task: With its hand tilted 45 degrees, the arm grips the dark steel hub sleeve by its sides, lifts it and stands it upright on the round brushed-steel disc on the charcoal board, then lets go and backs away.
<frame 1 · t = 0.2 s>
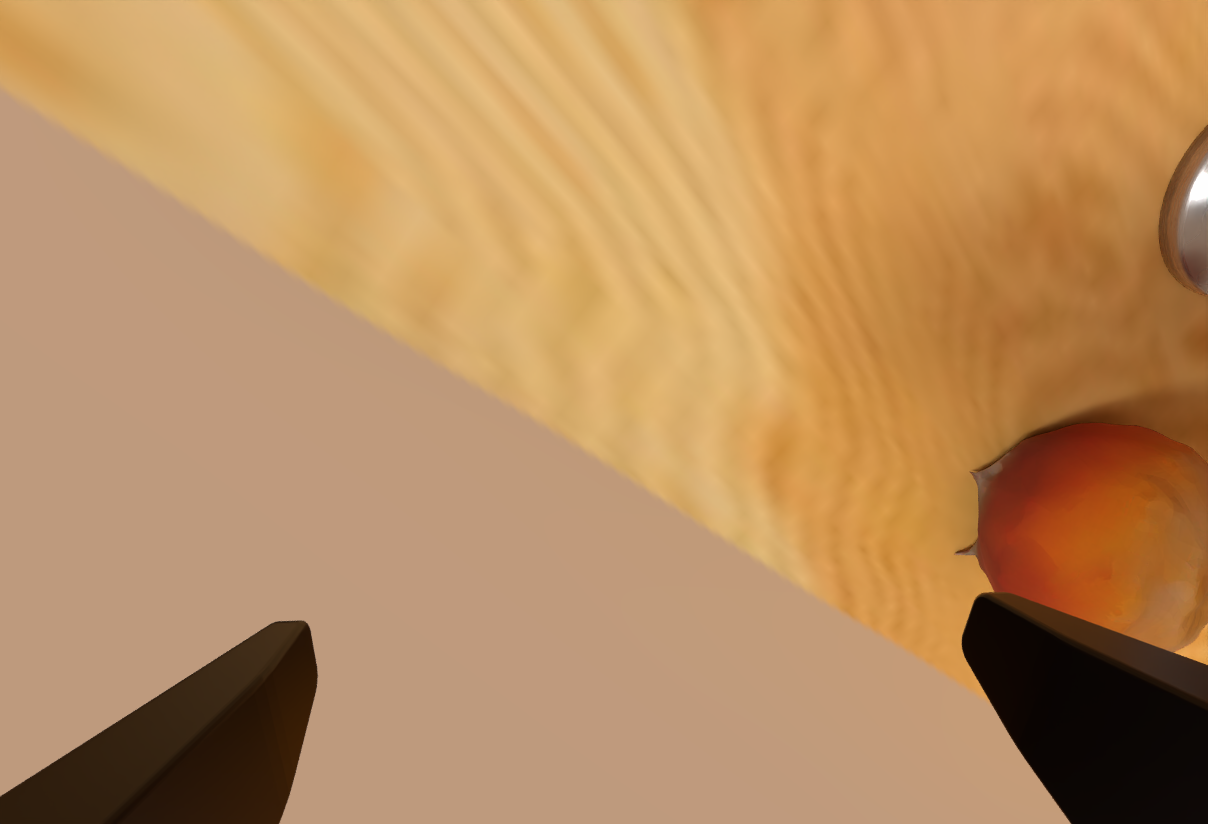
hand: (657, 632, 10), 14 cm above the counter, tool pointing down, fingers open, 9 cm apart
fruit: (1036, 490, 28), on the counter
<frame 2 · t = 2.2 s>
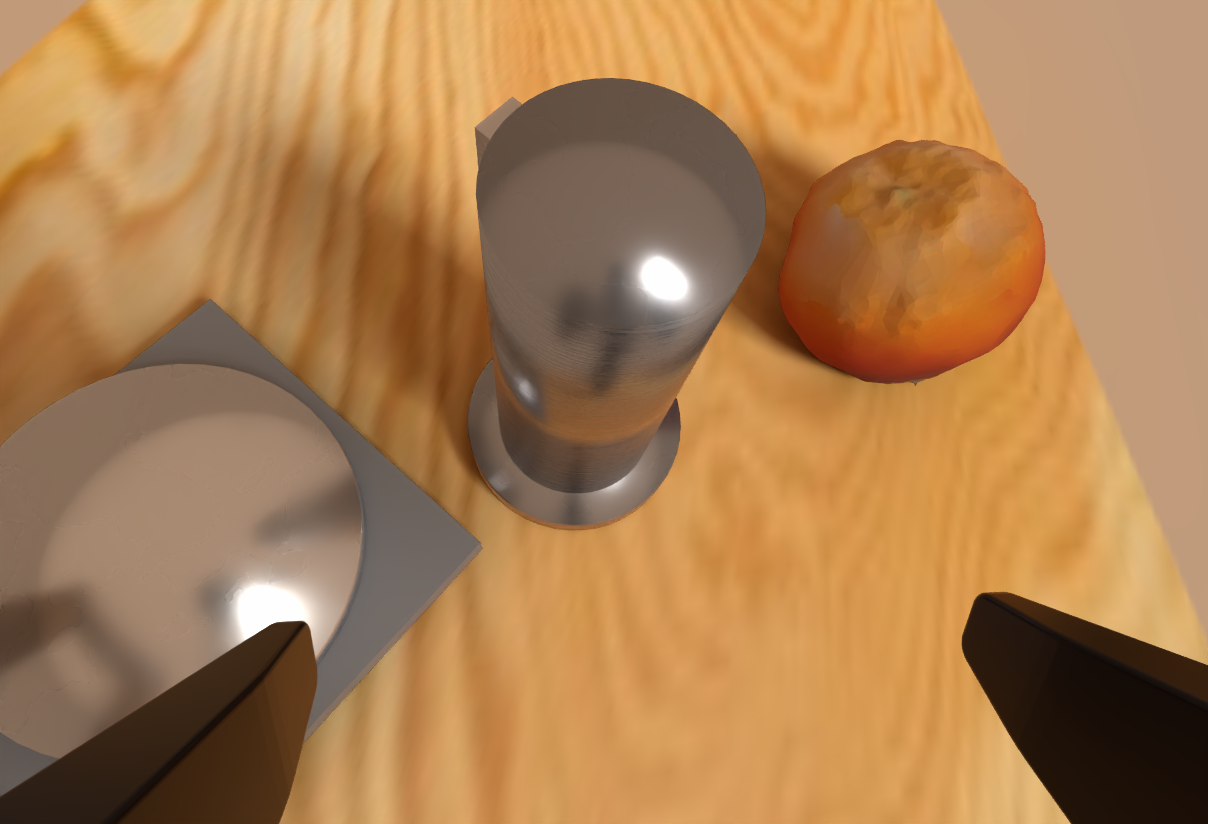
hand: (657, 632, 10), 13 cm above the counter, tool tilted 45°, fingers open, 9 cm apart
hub: (573, 428, 24), on the counter
board: (143, 619, 21), on the counter
flange disc: (169, 550, 21), resting on board
fruit: (859, 312, 27), on the counter
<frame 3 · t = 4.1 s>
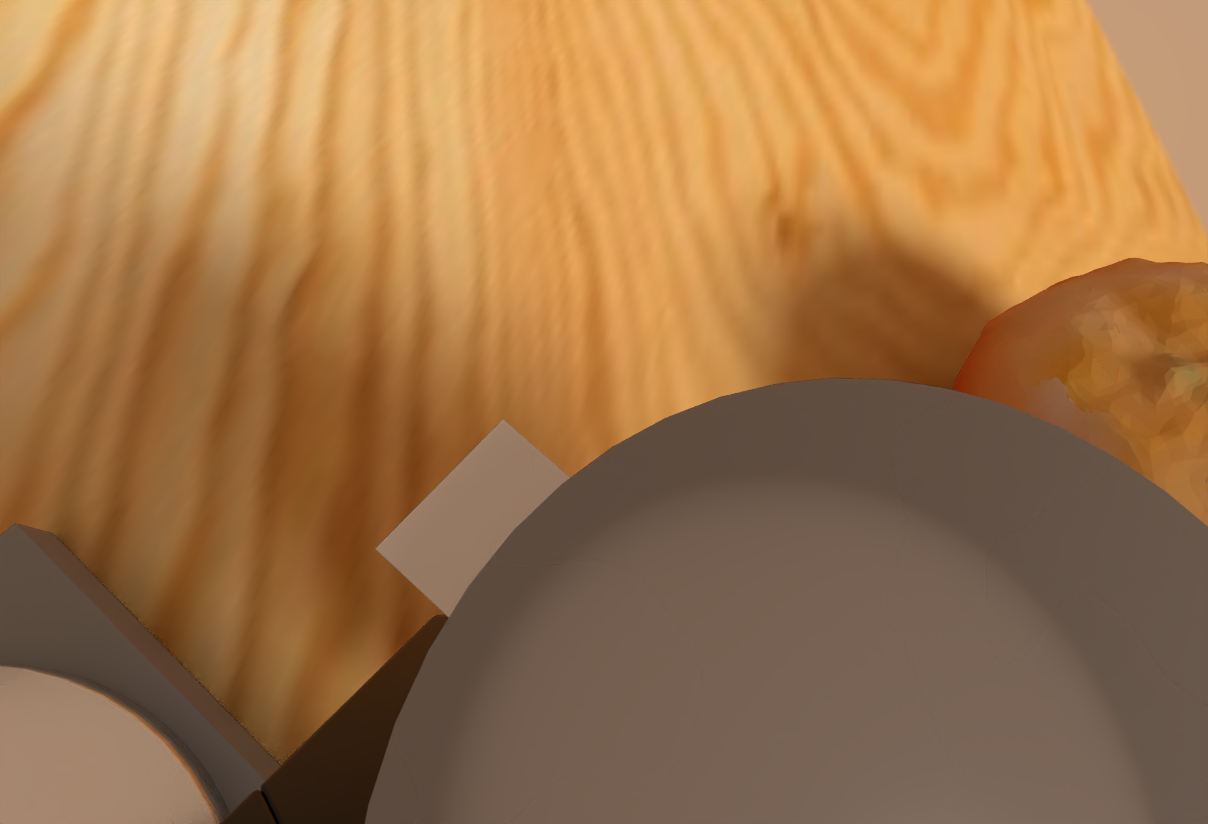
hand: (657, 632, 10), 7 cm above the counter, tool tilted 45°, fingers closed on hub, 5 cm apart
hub: (608, 712, 15), on the counter, touching gripper
fruit: (1031, 493, 18), on the counter
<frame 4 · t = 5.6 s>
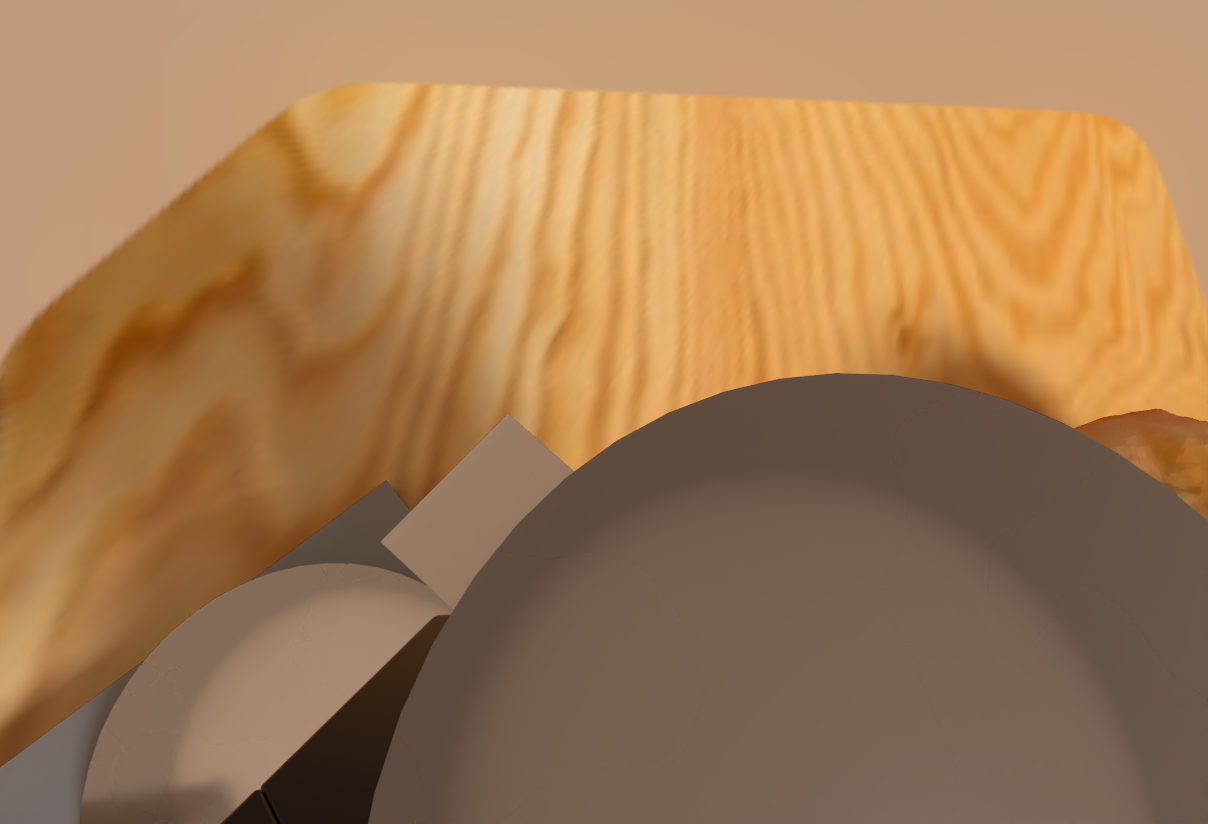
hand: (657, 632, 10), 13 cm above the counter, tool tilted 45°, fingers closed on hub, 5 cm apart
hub: (610, 710, 15), point 7 cm above the counter, touching gripper
flange disc: (321, 775, 19), resting on board
fruit: (1063, 561, 25), on the counter
when the fingers open (10 cm above the counter, at t = 7.2 s): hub stays where it is, resting on flange disc.
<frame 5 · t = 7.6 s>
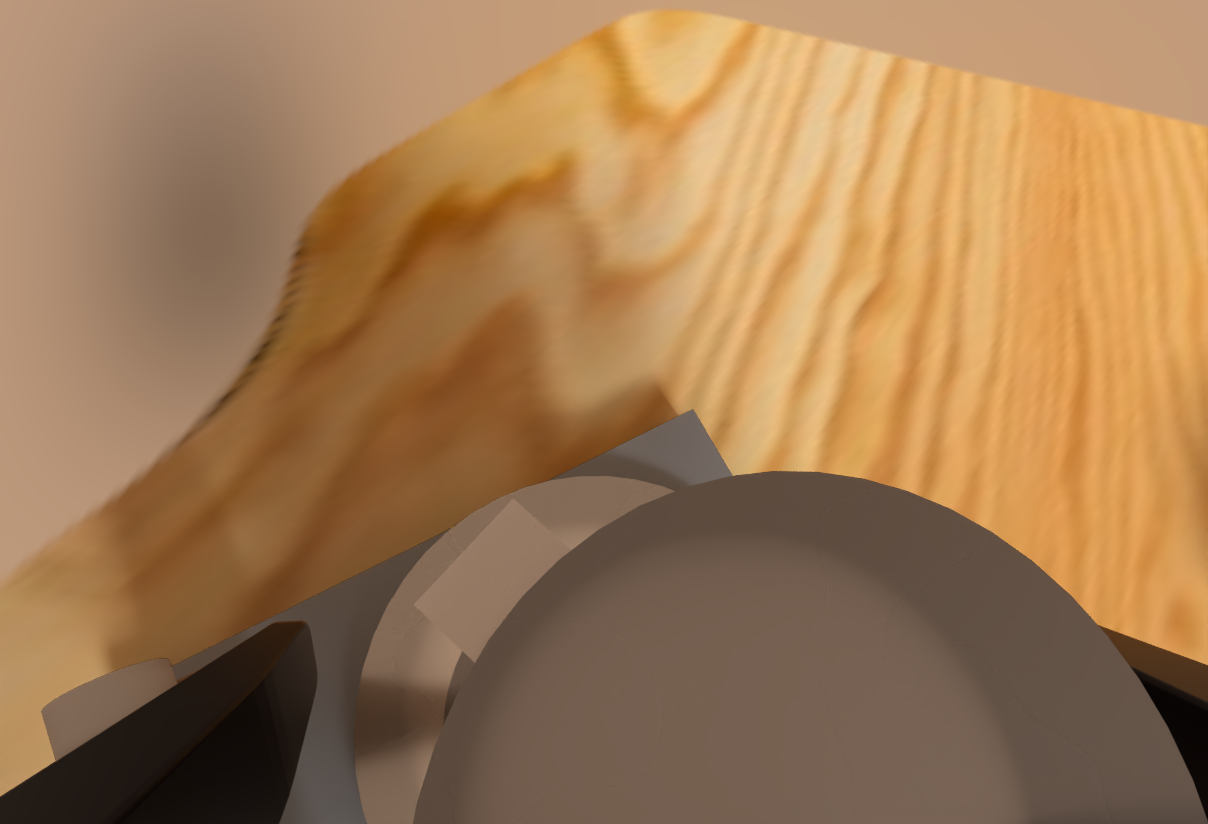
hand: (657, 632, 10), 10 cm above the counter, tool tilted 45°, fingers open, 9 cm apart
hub: (602, 716, 16), point 2 cm above the counter, touching flange disc
board: (531, 763, 18), on the counter
flange disc: (597, 705, 17), resting on board
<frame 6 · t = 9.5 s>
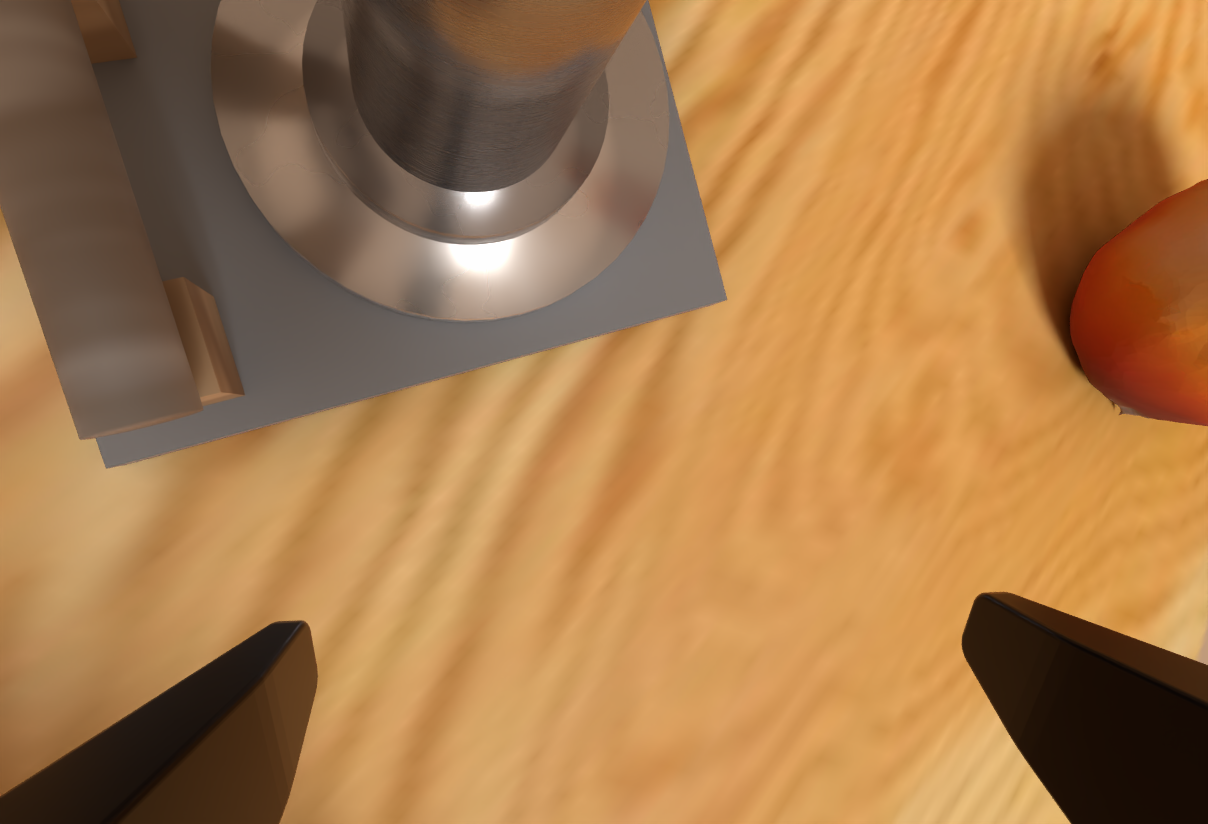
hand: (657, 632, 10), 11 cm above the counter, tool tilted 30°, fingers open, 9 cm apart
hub: (460, 102, 18), point 2 cm above the counter, touching flange disc
board: (385, 158, 19), on the counter
flange disc: (457, 108, 18), resting on board
fruit: (1116, 321, 27), on the counter
bar handle: (118, 188, 16), resting on board
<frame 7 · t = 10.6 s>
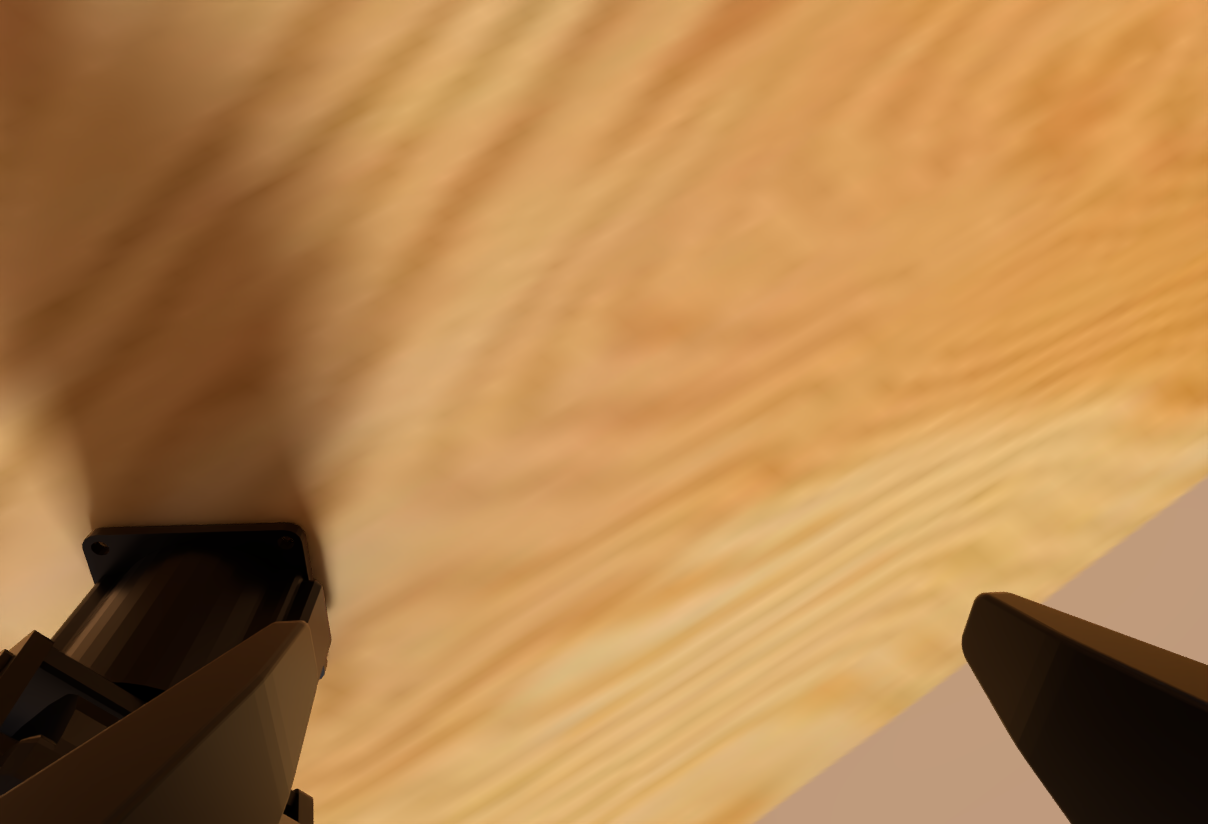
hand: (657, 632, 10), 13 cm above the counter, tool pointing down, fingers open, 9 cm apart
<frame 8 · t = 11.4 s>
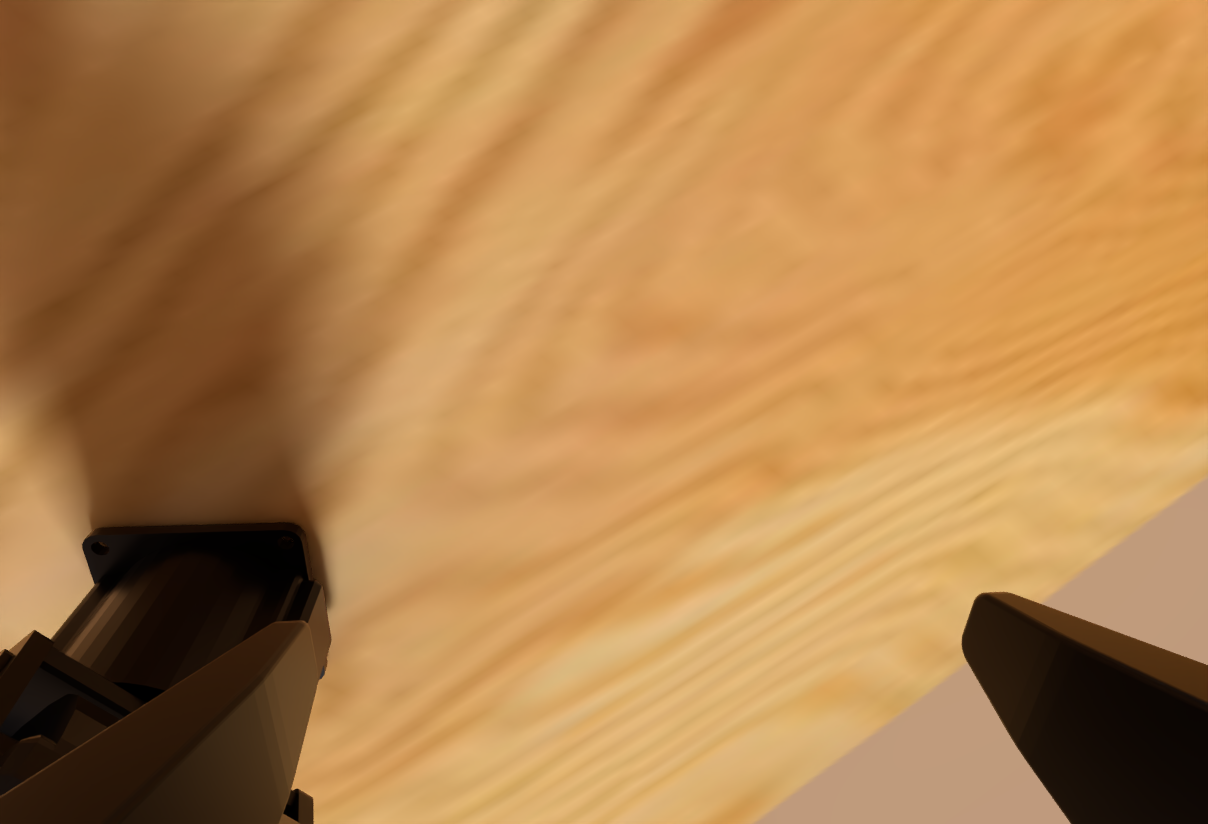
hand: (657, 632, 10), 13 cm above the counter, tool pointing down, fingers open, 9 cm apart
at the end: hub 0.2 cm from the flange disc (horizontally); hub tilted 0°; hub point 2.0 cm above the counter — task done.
